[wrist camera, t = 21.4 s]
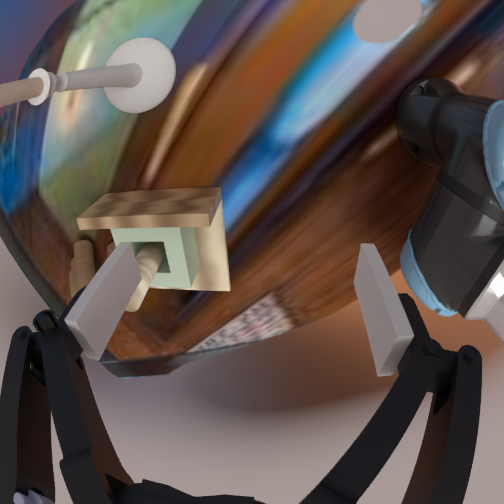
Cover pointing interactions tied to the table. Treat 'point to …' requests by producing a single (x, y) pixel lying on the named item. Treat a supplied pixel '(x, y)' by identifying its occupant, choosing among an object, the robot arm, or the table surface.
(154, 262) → the dowel
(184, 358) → the table surface
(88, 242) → the wooden block set
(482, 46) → the table surface
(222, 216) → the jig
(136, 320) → the table surface
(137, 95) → the candlestick
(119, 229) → the sliding block
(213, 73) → the table surface
